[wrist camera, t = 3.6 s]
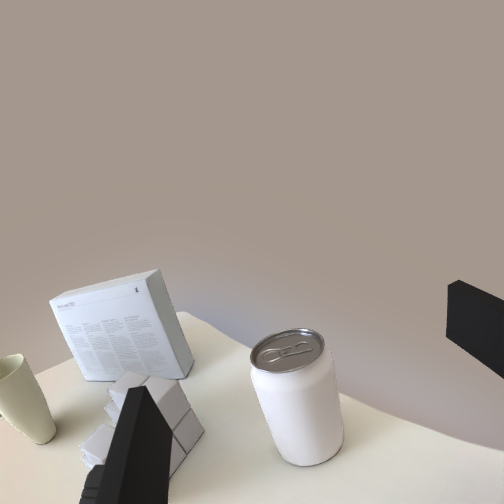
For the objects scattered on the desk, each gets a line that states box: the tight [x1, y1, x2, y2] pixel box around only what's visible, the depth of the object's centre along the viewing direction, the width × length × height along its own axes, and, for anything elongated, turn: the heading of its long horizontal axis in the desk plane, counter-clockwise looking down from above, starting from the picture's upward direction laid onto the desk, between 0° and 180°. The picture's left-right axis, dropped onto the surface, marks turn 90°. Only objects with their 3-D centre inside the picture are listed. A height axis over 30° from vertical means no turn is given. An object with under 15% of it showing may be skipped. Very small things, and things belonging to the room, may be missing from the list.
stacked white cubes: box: [79, 371, 204, 478], centre depth 26 cm, size 12×12×8 cm
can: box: [250, 328, 343, 466], centre depth 23 cm, size 6×6×12 cm
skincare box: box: [49, 269, 194, 381], centre depth 43 cm, size 21×5×16 cm, turn 83°
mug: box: [0, 354, 56, 444], centre depth 29 cm, size 11×10×12 cm
